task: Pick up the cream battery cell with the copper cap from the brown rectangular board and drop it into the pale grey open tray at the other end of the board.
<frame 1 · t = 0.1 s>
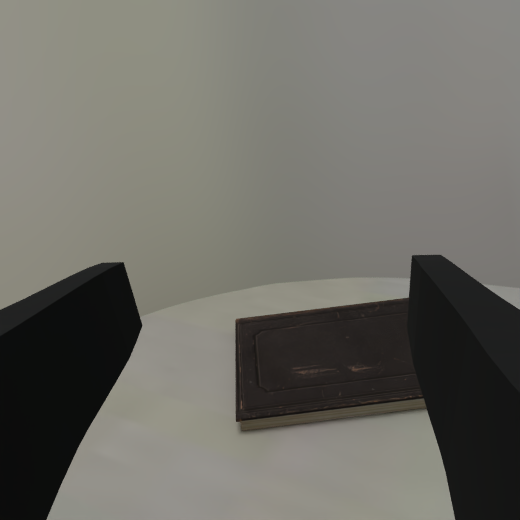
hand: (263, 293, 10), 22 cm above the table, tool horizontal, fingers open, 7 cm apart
hardcover book: (351, 364, 42), on the table
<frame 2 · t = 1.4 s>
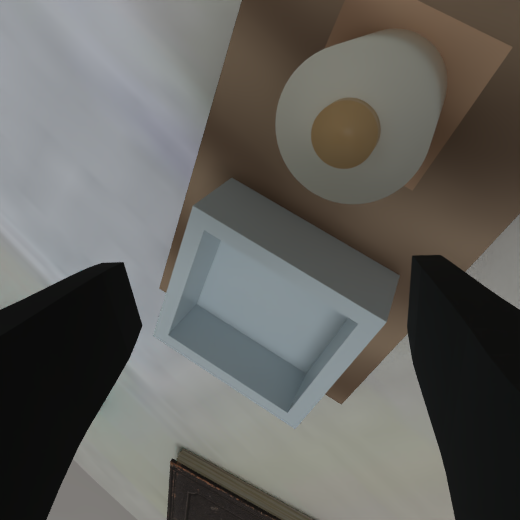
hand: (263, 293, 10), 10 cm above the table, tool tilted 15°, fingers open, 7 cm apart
brown rectangular board: (325, 206, 20), on the table
pale grey open tray: (277, 289, 22), resting on brown rectangular board
cell: (387, 90, 15), point 1 cm above the table, touching brown rectangular board
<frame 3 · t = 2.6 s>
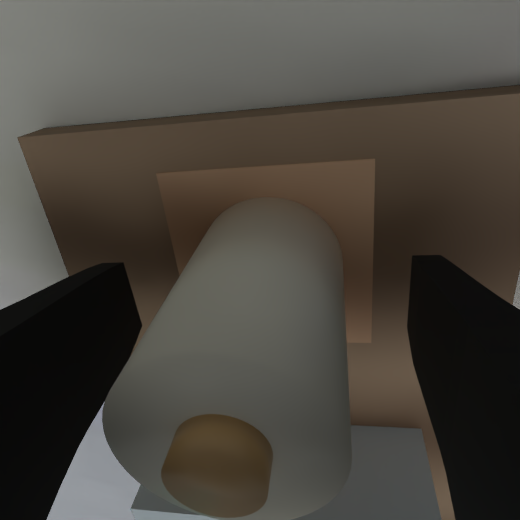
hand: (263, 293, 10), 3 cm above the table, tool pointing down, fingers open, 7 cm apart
brown rectangular board: (290, 386, 16), on the table
pale grey open tray: (296, 499, 17), resting on brown rectangular board
cell: (270, 263, 12), point 1 cm above the table, touching brown rectangular board
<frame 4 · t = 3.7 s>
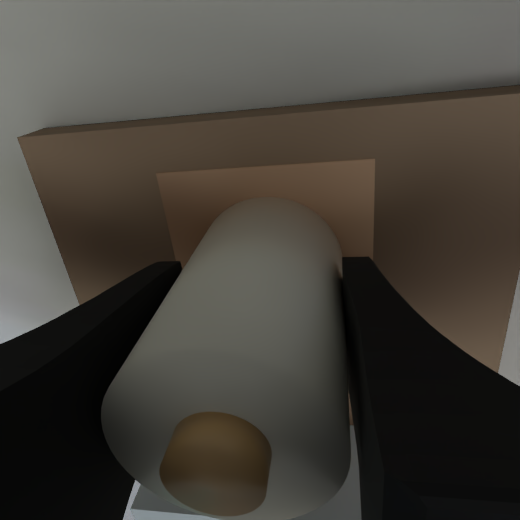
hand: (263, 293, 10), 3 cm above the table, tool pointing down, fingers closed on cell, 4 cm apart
brown rectangular board: (290, 386, 16), on the table
pale grey open tray: (296, 499, 17), resting on brown rectangular board
cell: (270, 263, 12), point 1 cm above the table, touching brown rectangular board, gripper
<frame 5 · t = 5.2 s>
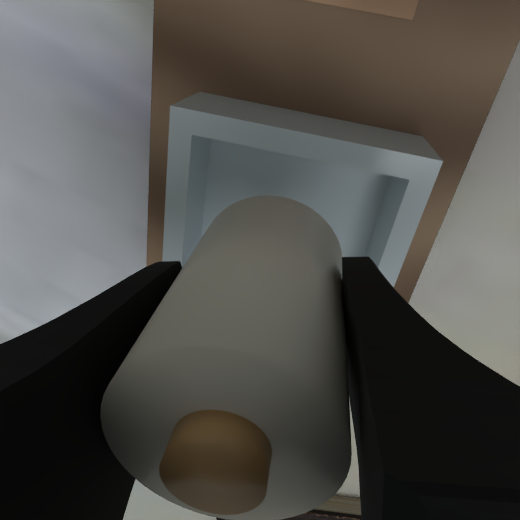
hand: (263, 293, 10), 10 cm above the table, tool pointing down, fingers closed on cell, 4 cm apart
brown rectangular board: (313, 96, 17), on the table
pale grey open tray: (287, 216, 19), resting on brown rectangular board
cell: (270, 262, 12), point 8 cm above the table, touching gripper
when the fingers open (5 cm above the table, at t = 7.0 s): cell drops 2 cm, resting on pale grey open tray.
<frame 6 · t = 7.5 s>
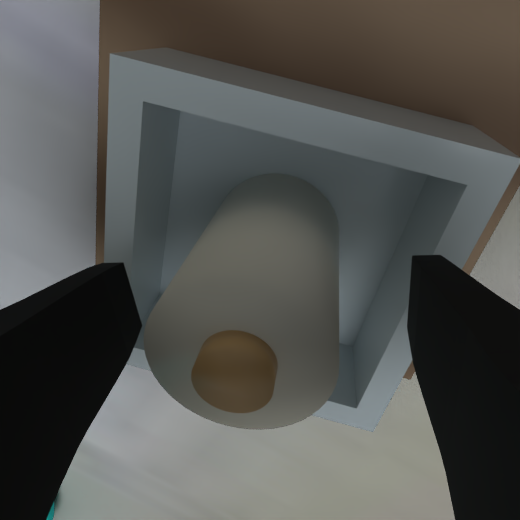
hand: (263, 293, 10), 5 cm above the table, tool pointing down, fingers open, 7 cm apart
brown rectangular board: (324, 64, 13), on the table
pale grey open tray: (280, 225, 14), resting on brown rectangular board
cell: (276, 233, 14), point 2 cm above the table, touching pale grey open tray
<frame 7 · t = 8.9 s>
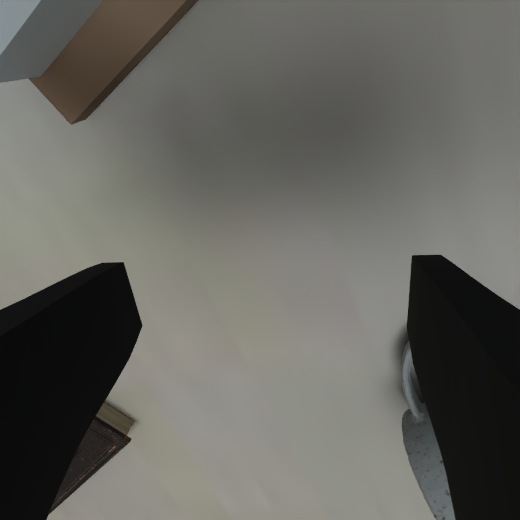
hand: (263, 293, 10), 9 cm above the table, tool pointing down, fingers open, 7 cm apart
ceramic mug: (473, 382, 23), on the table
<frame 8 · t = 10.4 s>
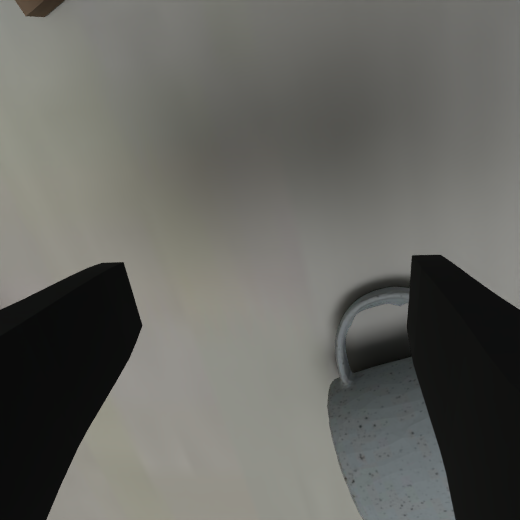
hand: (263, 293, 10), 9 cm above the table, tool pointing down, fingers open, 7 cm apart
ceramic mug: (406, 359, 23), on the table
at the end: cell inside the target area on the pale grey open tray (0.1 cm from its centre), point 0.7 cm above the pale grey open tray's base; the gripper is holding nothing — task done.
